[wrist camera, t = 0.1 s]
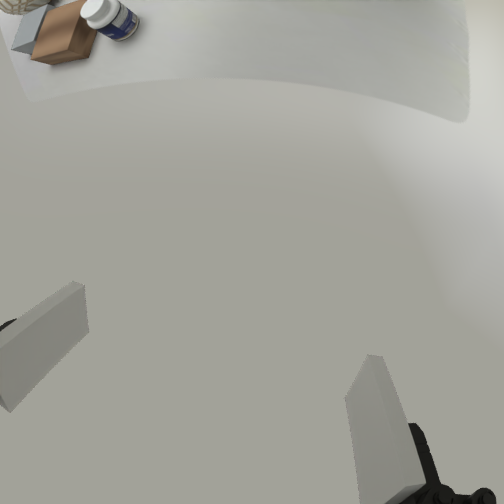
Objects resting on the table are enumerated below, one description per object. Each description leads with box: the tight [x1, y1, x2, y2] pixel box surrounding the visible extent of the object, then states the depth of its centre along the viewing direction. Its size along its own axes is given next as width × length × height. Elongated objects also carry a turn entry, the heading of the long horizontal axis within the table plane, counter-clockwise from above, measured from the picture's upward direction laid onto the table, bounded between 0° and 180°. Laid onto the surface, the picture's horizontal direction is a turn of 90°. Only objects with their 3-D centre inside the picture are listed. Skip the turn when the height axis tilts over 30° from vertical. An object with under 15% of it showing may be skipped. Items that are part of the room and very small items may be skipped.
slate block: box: [11, 4, 56, 54], centre depth 29 cm, size 8×8×6 cm
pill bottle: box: [80, 0, 138, 41], centre depth 26 cm, size 5×5×10 cm
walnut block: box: [31, 0, 97, 65], centre depth 29 cm, size 10×10×6 cm
